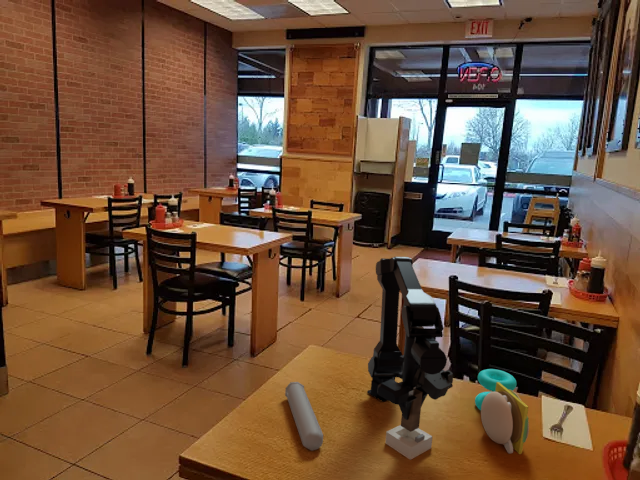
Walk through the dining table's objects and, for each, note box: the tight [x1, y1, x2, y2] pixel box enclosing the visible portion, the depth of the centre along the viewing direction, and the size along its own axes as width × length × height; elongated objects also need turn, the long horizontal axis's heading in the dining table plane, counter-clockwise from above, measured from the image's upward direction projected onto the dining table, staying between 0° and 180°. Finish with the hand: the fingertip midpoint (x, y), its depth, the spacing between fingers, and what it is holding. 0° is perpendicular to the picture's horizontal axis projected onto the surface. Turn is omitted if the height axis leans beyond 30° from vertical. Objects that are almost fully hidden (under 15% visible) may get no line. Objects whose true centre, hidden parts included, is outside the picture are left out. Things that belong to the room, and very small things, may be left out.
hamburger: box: [480, 382, 530, 455], centre depth 116 cm, size 12×8×12 cm
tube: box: [284, 381, 324, 452], centre depth 120 cm, size 5×5×25 cm
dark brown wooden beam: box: [400, 388, 422, 432], centre depth 111 cm, size 3×3×9 cm
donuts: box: [474, 368, 517, 411], centre depth 131 cm, size 10×10×10 cm
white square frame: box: [385, 424, 433, 461], centre depth 112 cm, size 8×8×4 cm
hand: (410, 416), depth 112 cm, fingers closed on dark brown wooden beam, 3 cm apart
